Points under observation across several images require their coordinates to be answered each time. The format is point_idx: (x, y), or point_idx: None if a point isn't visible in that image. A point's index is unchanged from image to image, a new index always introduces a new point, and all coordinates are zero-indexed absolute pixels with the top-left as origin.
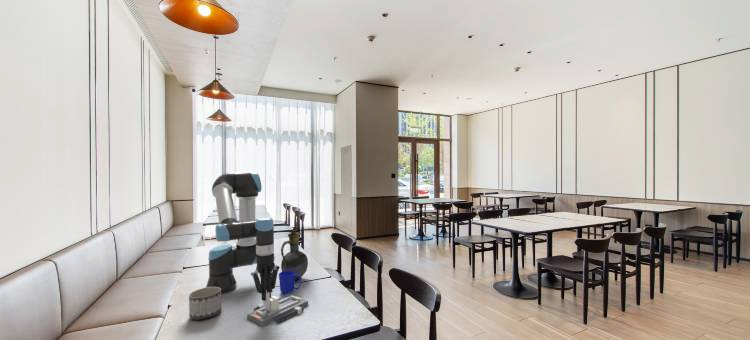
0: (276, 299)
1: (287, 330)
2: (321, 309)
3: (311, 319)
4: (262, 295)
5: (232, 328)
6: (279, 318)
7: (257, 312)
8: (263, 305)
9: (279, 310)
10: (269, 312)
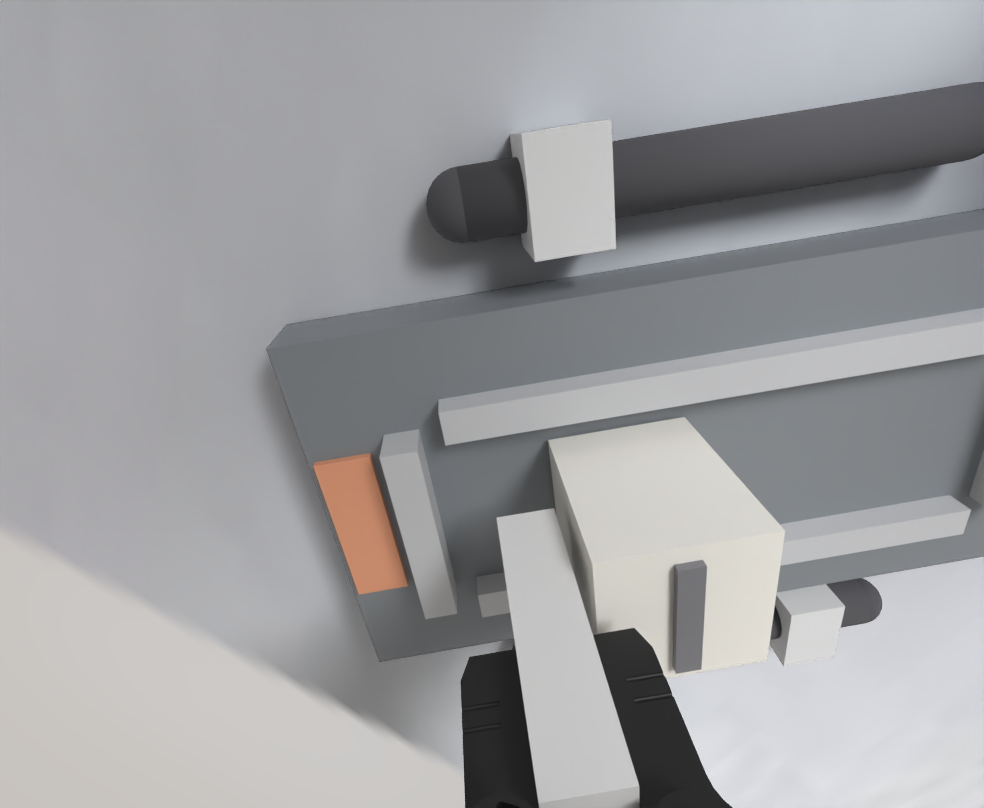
0: (705, 660)
1: None
2: (939, 658)
3: (748, 734)
4: (475, 799)
5: (58, 455)
6: None
7: (392, 491)
8: (499, 534)
9: None
10: None
